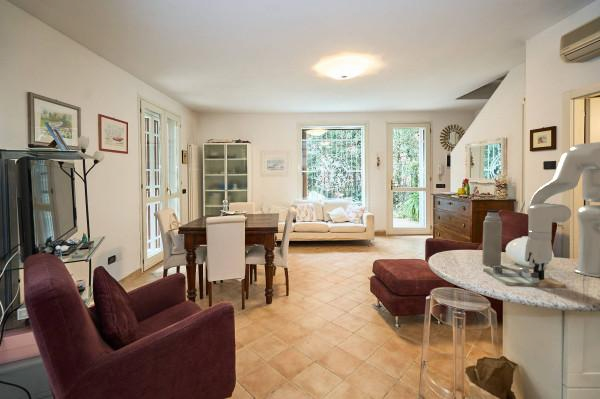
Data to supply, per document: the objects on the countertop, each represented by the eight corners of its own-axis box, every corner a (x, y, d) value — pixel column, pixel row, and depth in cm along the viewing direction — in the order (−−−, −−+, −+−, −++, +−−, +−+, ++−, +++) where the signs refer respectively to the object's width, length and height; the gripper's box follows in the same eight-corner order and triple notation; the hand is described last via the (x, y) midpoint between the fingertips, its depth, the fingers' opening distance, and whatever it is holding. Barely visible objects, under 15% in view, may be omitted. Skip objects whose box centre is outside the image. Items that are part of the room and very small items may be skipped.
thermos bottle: (479, 262, 156) (480, 209, 155) (495, 262, 156) (496, 209, 154) (487, 266, 148) (488, 211, 147) (504, 267, 148) (506, 211, 146)
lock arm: (517, 273, 132) (517, 264, 132) (526, 274, 131) (526, 264, 131) (530, 282, 120) (530, 272, 119) (540, 283, 118) (541, 273, 118)
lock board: (534, 272, 138) (534, 263, 138) (565, 287, 118) (566, 277, 118) (483, 270, 141) (483, 262, 141) (505, 284, 122) (506, 274, 121)
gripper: (541, 232, 128) (540, 274, 129) (517, 235, 123) (516, 278, 124) (561, 235, 121) (560, 279, 122) (537, 238, 116) (536, 284, 117)
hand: (538, 278), depth 123 cm, fingers closed
